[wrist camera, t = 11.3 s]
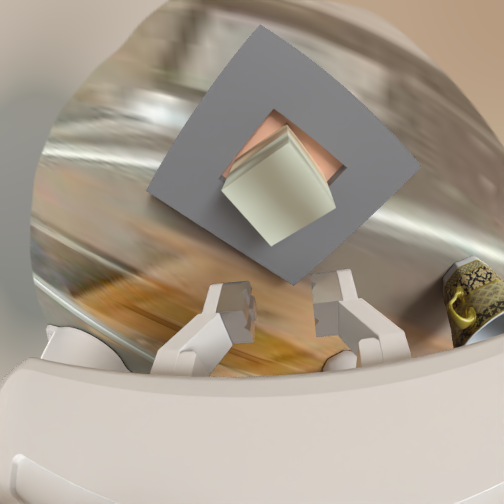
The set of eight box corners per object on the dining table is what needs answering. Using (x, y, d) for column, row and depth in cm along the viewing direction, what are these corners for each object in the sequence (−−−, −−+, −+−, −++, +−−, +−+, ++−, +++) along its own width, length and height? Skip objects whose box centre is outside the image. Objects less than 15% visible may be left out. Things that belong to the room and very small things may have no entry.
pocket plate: (293, 269, 30) (293, 285, 28) (156, 179, 25) (146, 190, 23) (410, 156, 22) (421, 166, 20) (262, 28, 17) (260, 24, 15)
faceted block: (273, 205, 24) (271, 246, 20) (235, 160, 22) (221, 190, 18) (323, 173, 22) (336, 207, 18) (286, 123, 20) (289, 142, 15)
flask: (381, 354, 38) (392, 415, 30) (351, 378, 42) (357, 434, 34) (342, 343, 37) (350, 410, 29) (314, 369, 41) (315, 430, 33)
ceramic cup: (505, 259, 26) (542, 315, 18) (460, 313, 32) (485, 372, 24) (447, 220, 25) (495, 286, 17) (396, 289, 30) (420, 362, 22)
